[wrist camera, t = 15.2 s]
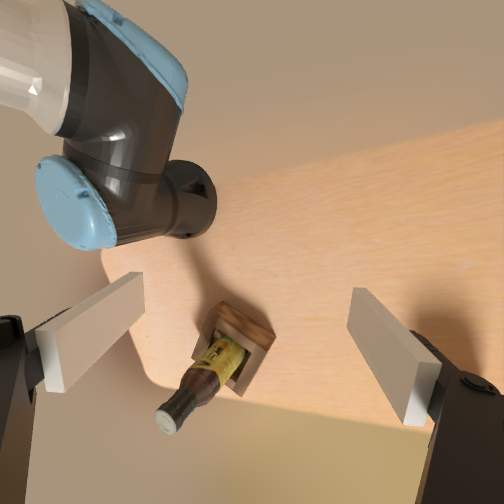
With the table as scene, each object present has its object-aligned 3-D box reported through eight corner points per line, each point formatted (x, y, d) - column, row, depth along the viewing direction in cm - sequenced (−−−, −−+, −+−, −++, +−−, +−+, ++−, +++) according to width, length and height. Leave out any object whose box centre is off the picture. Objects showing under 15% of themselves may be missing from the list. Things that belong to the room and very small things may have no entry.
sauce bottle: (239, 325, 50) (168, 398, 32) (255, 352, 49) (192, 440, 32) (217, 334, 53) (142, 406, 35) (232, 360, 52) (164, 445, 35)
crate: (205, 344, 56) (191, 357, 52) (222, 300, 51) (209, 311, 47) (252, 380, 52) (241, 397, 48) (276, 336, 47) (266, 351, 43)
